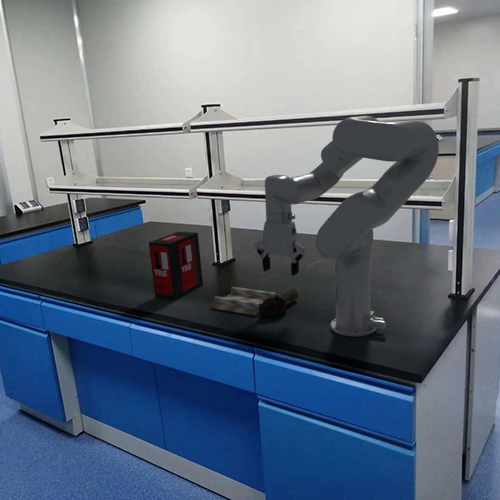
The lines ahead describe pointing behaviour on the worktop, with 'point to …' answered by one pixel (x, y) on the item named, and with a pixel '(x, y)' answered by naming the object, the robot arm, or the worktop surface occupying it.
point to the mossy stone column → (277, 303)
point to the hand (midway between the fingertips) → (280, 272)
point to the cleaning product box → (176, 265)
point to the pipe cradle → (242, 300)
